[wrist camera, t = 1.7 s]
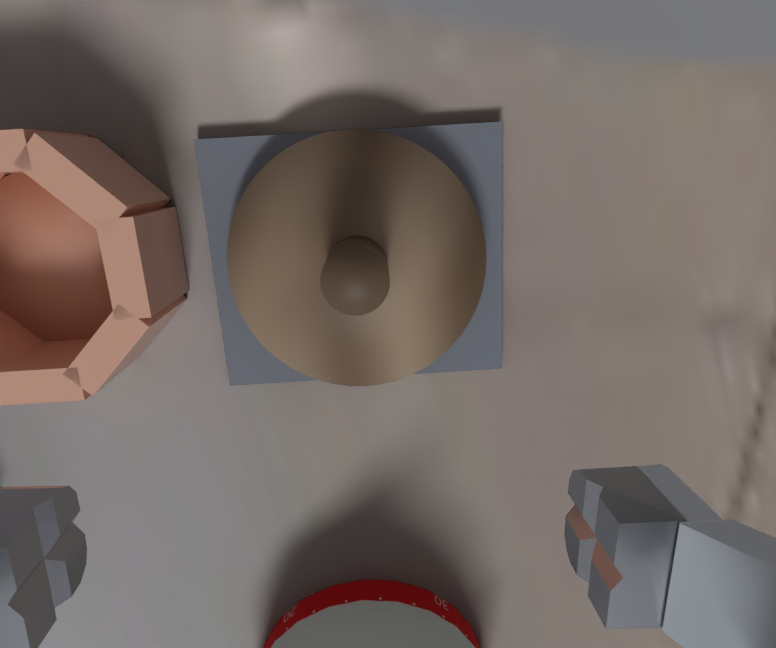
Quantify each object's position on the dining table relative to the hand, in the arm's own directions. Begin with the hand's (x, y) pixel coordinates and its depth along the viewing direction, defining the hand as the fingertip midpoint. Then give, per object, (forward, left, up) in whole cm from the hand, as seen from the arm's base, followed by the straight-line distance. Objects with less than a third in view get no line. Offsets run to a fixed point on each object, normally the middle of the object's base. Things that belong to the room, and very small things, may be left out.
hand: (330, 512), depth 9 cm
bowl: (+14, -2, -19) cm, 24 cm away
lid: (0, -1, -19) cm, 19 cm away
